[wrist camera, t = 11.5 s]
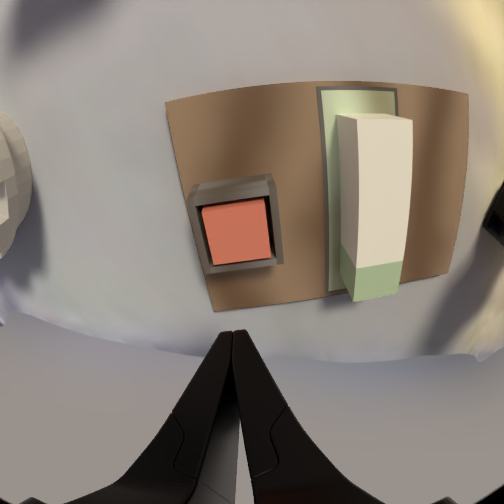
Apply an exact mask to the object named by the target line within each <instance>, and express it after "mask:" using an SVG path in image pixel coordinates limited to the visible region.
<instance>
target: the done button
mask: <svg viewBox="0 0 504 504" xmlns="http://www.w3.org/2000/svg"><path fill="white" fill-rule="evenodd" d="M202 216H203V221H204V225H205V230H206V234H207V238H208V243H209V247H210V251H211V255H212V259H213V264H214V265H217V264H225V263H233V262H240V261H248V260H255V259H263V258H270V257H271V252H270V244H269V235H268V227H267V219H266V211H265V203H264V198H263V196H259V197H252V198H245V199H238V200H231V201H224V202H218V203H211V204H205V205H204V206H203V209H202Z"/></svg>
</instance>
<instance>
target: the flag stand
mask: <svg viewBox="0 0 504 504" xmlns="http://www.w3.org/2000/svg"><path fill="white" fill-rule="evenodd" d="M31 194H32V171H31V162H30V158H29V153H28V149H27V146H26V144H25V141H24V138H23V136H22V134H21V132H20V130H19V128H18V127H17V125H16V124H15V123H14V121H13V120H12V119H11V118H10V117H9V116H8V115H6V114H5V113H4V112H1V111H0V259H1V258H2V257H3V256H4V255H5V254H6V253H7V252H8V250H9V249H10V247H11V245H12V243H13V241H14V238H15V234H16V230H17V227H18V226H19V225H20V224H21V223H22V222H23V220H24V218H25V216H26V214H27V212H28V208H29V205H30V201H31Z"/></svg>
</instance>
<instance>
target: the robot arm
mask: <svg viewBox="0 0 504 504" xmlns="http://www.w3.org/2000/svg"><path fill="white" fill-rule="evenodd" d="M483 227H484V228H485V229H486V230H487V231H488V232H489V233H490V234H491V235H492V236H494V237H495V238H496V239H497V240H498V241H499V242H500V243H501V244H502V245H503V246H504V184H503V186H502V188H501V191H500V193H499V195H498V197H497V199H496V201H495V203H494V204H493V206H492V208H491V210H490V212H489V214H488V216H487V218H486V219H485V221H484V224H483ZM172 413H173V414H172ZM172 413H170V415H169V417H168V418H167V420H166V421H165V423H164V425H163V426H162V427H161V429H160V431H159V432H158V434H157V435H156V436H155V438H154V439H153V440H152V441H151V443H150V444H149V445H148V446H147V448H146V449H145V450H144V451H143V452H142V454H141V455H140V456H139V457H138V459H137V460H136V461H135V462H134V463H133V465H132V466H131V467H130V468H129V469H128V470H127V471H126V473H125V474H124V475H123V476H122V477H121V478H119V480H117V481H116V482H114V483H113V484H111V485H109V486H107V487H105V488H102V489H100V490H98V491H95V492H93V493H91V494H88V495H86V496H83V497H81V498H78V499H75V500H73V501H70V502H67V503H64V504H235V492H236V475H237V458H238V441H239V424H240V421H241V427H242V433H243V439H244V445H245V451H246V456H247V462H248V467H249V473H250V478H251V483H252V489H253V496H254V504H385V503H383V502H381V501H380V500H378V499H377V498H375V497H373V496H372V495H370V494H369V493H367V492H365V491H364V490H362V489H361V488H359V487H358V486H356V485H355V484H353V483H352V482H350V481H349V480H348V479H347V478H346V477H345V476H344V475H343V474H342V473H341V472H340V471H339V470H338V469H337V468H335V466H334V465H333V464H332V463H331V462H330V461H329V459H328V458H327V457H326V456H325V455H324V454H323V453H322V451H321V450H320V449H319V448H318V447H317V446H316V444H315V443H314V442H313V441H312V440H311V438H310V437H309V436H308V435H307V433H306V432H305V431H304V430H303V428H302V426H301V425H300V423H299V422H298V421H297V419H296V417H295V416H294V414H293V412H292V411H291V409H290V407H289V406H288V404H287V402H286V400H285V399H284V397H283V396H282V393H281V392H280V390H279V388H278V386H277V385H276V383H275V381H274V379H273V378H272V376H271V374H270V372H269V370H268V369H267V367H266V365H265V363H264V362H263V360H262V358H261V356H260V354H259V352H258V350H257V349H256V347H255V345H254V343H253V341H252V339H251V338H250V336H249V334H248V332H247V330H245V329H244V330H235V331H234V332H232V331H225V332H221V333H219V335H218V337H217V338H216V340H215V342H214V343H213V345H212V347H211V348H210V350H209V352H208V353H207V355H206V356H205V358H204V360H203V361H202V363H201V365H200V366H199V368H198V370H197V371H196V373H195V375H194V376H193V378H192V379H191V381H190V383H189V384H188V386H187V388H186V389H185V391H184V392H183V394H182V396H181V397H180V399H179V401H178V403H177V404H176V406H175V407H174V409H173V410H172ZM0 504H12V503H10V502H8V501H6V500H4V499H2V498H0ZM20 504H46V503H44V502H42V501H40V500H38V499H36V498H33V497H30V498H28V499H26V500H25V501H23V502H21V503H20ZM432 504H457V503H456V502H455V501H454V500H452V499H451V498H450V497H445V498H443V499H441V500H439V501H436V502H434V503H432ZM474 504H504V484H502V485H501V486H500V487H498V488H497V489H495V490H494V491H492V492H491V493H489V494H488V495H487V496H485V497H483V498H482V499H480V500H479V501H477V502H475V503H474Z"/></svg>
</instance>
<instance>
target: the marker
mask: <svg viewBox="0 0 504 504" xmlns="http://www.w3.org/2000/svg"><path fill="white" fill-rule="evenodd" d="M336 118H337V131H338V146H339V166H340V198H341V246H340V275H341V277H342V279H343V282H344V284H345V286H346V288H347V290H348V292H349V294H350V296H351V299H352V301H353V302H357V301H362V300H368V299H373V298H378V297H383V296H388V295H392V294H397V291H398V286H399V281H400V275H401V270H402V264H403V257H404V251H405V244H406V236H407V228H408V219H409V209H410V197H411V182H412V158H413V121H412V120H410V119H406V118H402V117H398V116H393V115H389V114H336Z"/></svg>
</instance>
